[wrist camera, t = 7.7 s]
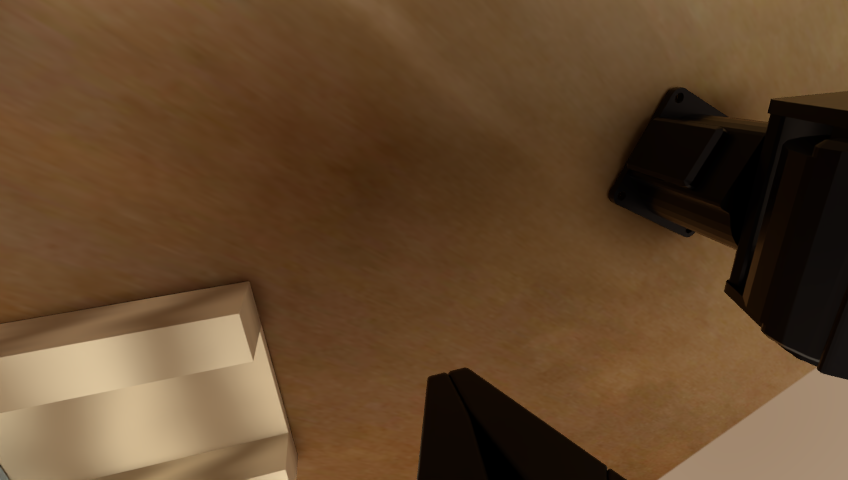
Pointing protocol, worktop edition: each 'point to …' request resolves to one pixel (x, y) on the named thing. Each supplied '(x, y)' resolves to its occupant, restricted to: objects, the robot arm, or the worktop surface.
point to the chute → (144, 393)
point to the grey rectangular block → (3, 475)
